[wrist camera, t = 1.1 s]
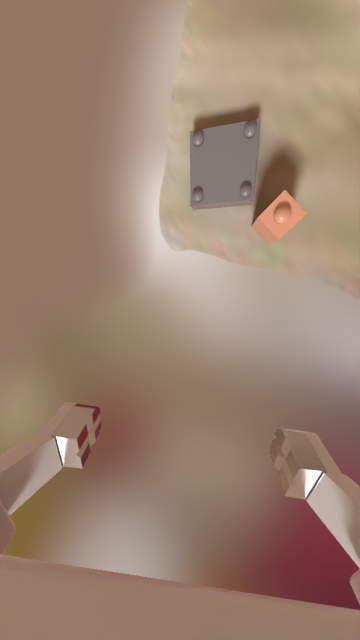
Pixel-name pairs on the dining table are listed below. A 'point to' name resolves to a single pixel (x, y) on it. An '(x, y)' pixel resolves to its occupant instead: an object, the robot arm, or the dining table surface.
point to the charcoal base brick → (223, 165)
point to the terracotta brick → (278, 217)
